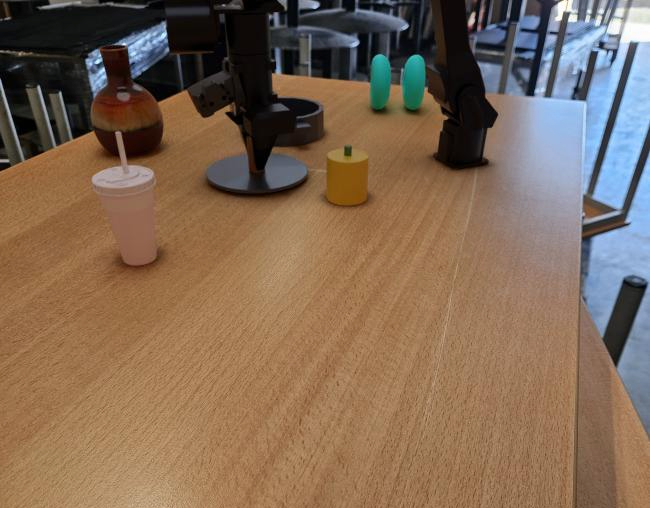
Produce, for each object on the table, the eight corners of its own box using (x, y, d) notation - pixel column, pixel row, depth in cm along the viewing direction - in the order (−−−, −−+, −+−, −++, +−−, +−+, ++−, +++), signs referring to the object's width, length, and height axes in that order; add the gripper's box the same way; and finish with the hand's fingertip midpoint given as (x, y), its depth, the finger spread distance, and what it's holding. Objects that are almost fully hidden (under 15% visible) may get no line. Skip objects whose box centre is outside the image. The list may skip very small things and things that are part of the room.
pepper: (355, 187, 82) (357, 137, 78) (373, 201, 78) (376, 149, 74) (320, 193, 80) (320, 142, 76) (336, 208, 76) (337, 155, 72)
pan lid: (286, 154, 93) (285, 116, 90) (323, 187, 82) (324, 145, 78) (195, 167, 88) (190, 127, 85) (222, 204, 77) (217, 160, 74)
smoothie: (180, 251, 66) (160, 129, 58) (144, 276, 62) (117, 148, 54) (136, 240, 69) (111, 121, 60) (98, 264, 64) (65, 138, 56)
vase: (181, 145, 96) (166, 45, 87) (130, 165, 89) (109, 57, 80) (135, 134, 101) (117, 38, 92) (83, 152, 94) (58, 49, 85)
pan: (300, 114, 112) (299, 90, 109) (342, 144, 97) (343, 117, 95) (230, 122, 107) (228, 97, 104) (264, 155, 93) (263, 127, 90)
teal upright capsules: (422, 116, 111) (428, 60, 105) (371, 115, 111) (374, 60, 105) (416, 102, 119) (421, 50, 113) (368, 101, 119) (371, 49, 113)
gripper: (172, 43, 79) (188, 154, 88) (206, 71, 65) (220, 199, 75) (249, 37, 83) (257, 144, 92) (297, 63, 69) (300, 186, 78)
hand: (257, 166), depth 84 cm, fingers closed on pan lid, 2 cm apart
